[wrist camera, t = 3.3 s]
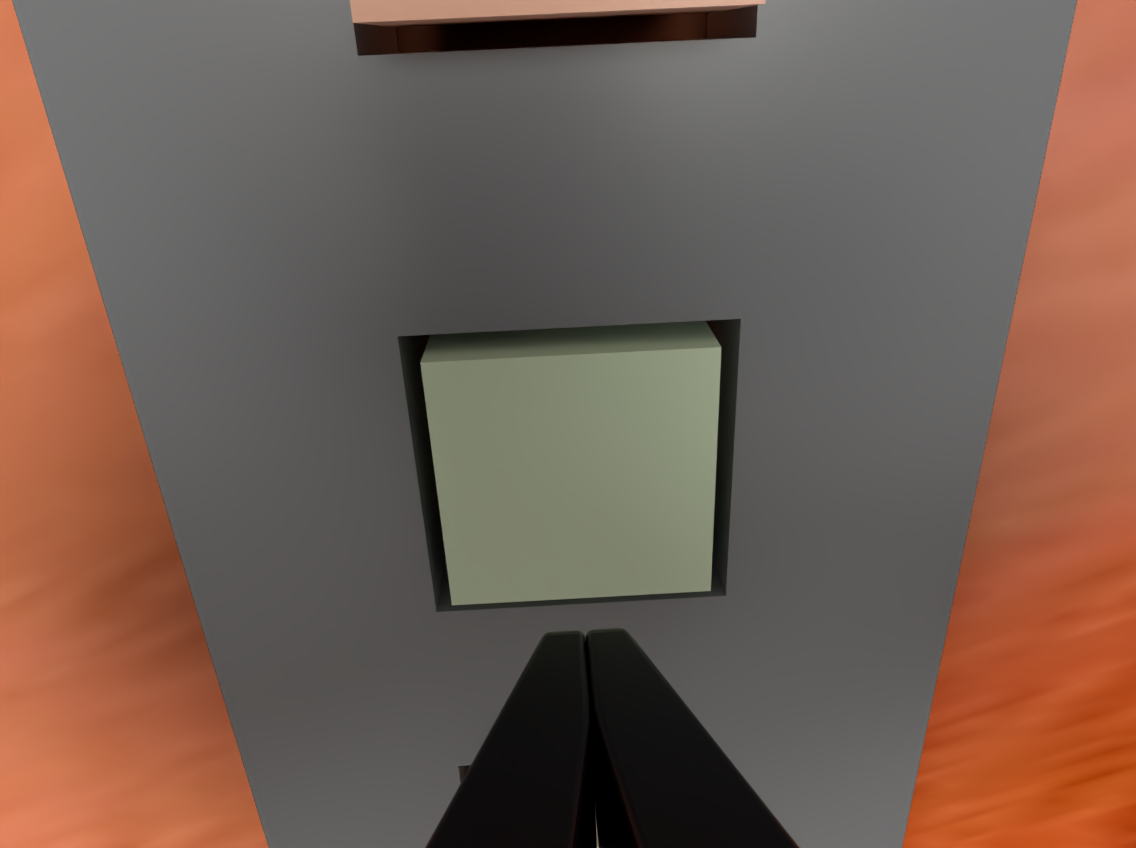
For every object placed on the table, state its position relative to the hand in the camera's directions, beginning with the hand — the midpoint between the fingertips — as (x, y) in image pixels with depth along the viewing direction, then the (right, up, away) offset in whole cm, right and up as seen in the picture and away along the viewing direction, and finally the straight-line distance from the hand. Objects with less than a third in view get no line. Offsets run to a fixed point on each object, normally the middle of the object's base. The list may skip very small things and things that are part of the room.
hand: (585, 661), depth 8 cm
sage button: (0, +3, +5) cm, 6 cm away
